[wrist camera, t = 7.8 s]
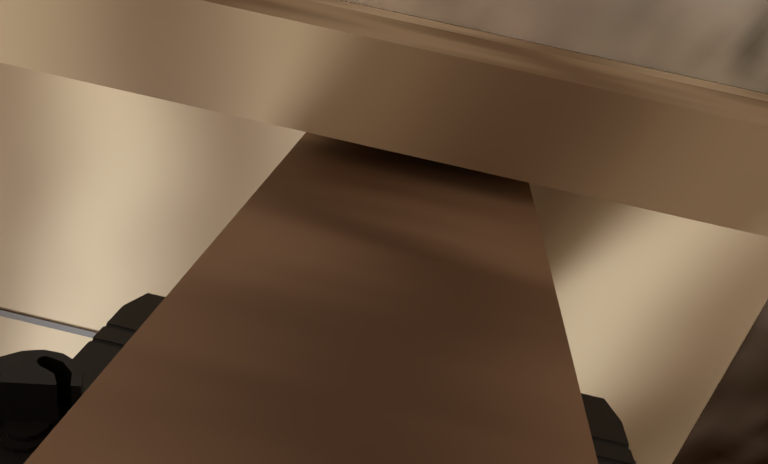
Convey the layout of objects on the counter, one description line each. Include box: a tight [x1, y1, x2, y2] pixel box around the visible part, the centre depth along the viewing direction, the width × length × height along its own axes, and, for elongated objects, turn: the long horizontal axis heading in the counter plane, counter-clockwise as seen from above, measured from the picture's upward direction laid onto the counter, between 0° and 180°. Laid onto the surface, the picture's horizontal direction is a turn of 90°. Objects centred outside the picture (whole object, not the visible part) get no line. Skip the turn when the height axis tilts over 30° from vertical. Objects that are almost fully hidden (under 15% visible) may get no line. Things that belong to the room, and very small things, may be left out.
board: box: [0, 0, 768, 464], centre depth 16 cm, size 30×14×4 cm, turn 80°
